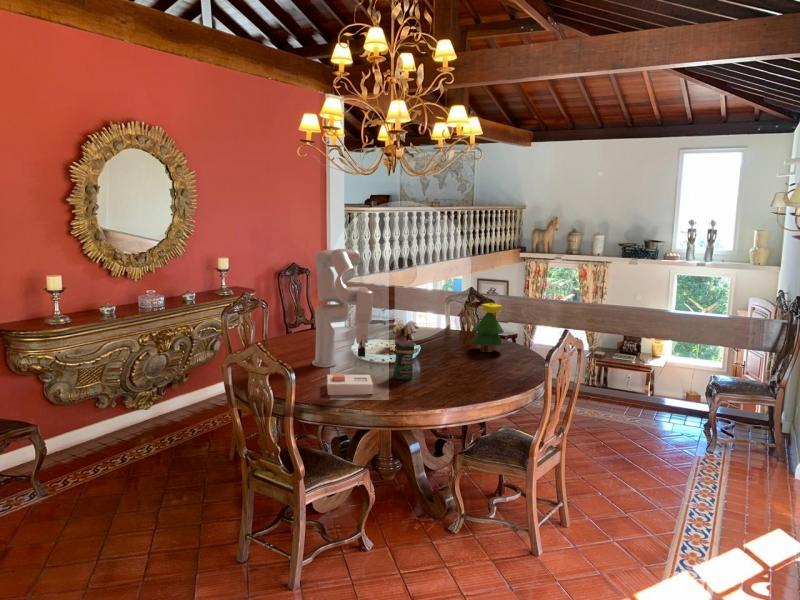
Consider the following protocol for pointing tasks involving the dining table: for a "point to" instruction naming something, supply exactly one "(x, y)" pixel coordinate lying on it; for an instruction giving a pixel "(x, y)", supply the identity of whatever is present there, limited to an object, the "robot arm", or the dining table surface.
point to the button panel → (350, 385)
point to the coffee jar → (403, 360)
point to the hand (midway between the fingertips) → (361, 356)
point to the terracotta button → (338, 377)
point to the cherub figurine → (404, 330)
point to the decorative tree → (488, 329)
